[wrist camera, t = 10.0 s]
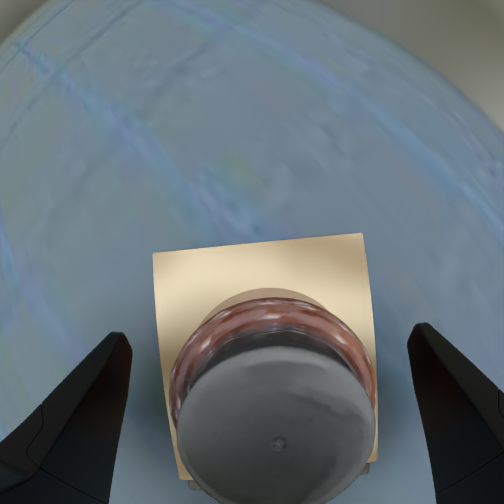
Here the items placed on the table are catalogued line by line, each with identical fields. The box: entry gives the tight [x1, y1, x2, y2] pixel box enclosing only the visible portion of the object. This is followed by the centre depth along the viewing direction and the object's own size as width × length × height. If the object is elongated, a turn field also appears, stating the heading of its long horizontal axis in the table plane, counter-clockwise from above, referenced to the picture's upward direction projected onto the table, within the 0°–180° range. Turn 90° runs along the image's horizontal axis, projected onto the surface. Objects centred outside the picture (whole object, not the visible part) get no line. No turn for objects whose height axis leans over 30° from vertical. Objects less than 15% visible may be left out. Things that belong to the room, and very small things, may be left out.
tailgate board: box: [153, 233, 378, 490], centre depth 17 cm, size 15×12×1 cm
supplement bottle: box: [169, 297, 377, 504], centre depth 11 cm, size 6×6×11 cm
